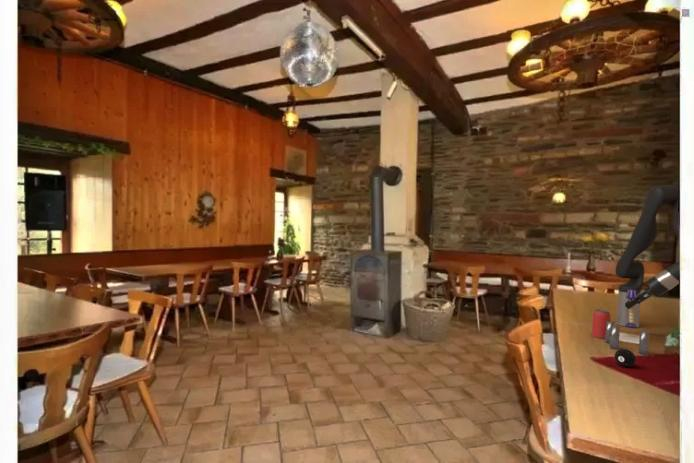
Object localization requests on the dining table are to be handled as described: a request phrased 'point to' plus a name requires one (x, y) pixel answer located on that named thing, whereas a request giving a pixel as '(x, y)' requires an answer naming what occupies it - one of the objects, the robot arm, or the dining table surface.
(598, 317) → the beer can
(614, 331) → the spacer posts
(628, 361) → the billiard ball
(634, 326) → the toy lamp
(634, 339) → the ceramic tile
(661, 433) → the dining table surface
